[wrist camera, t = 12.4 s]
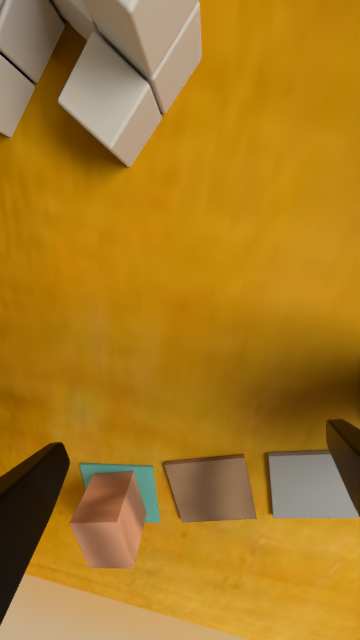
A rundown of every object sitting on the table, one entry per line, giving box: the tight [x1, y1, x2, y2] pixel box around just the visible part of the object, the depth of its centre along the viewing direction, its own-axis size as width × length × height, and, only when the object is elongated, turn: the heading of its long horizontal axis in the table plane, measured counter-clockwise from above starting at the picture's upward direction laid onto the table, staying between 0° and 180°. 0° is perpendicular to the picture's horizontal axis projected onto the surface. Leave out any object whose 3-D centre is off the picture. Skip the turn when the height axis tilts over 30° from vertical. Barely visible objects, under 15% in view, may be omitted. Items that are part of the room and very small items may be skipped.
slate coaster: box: [268, 450, 359, 518], centre depth 24 cm, size 8×8×1 cm
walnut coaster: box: [164, 454, 257, 523], centre depth 26 cm, size 8×8×1 cm
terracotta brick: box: [70, 471, 147, 569], centre depth 25 cm, size 4×6×5 cm
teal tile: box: [80, 463, 160, 523], centre depth 28 cm, size 8×8×1 cm
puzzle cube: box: [0, 0, 202, 167], centre depth 13 cm, size 12×12×8 cm
